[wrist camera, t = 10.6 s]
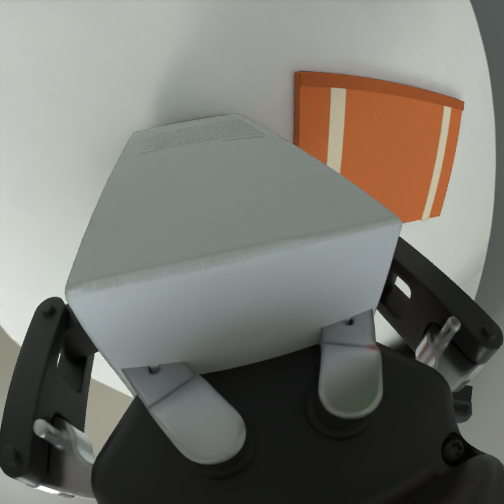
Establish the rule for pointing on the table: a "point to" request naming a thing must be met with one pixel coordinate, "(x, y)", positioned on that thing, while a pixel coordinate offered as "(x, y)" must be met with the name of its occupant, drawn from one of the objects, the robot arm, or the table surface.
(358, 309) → the small box
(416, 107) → the towel
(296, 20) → the table surface
